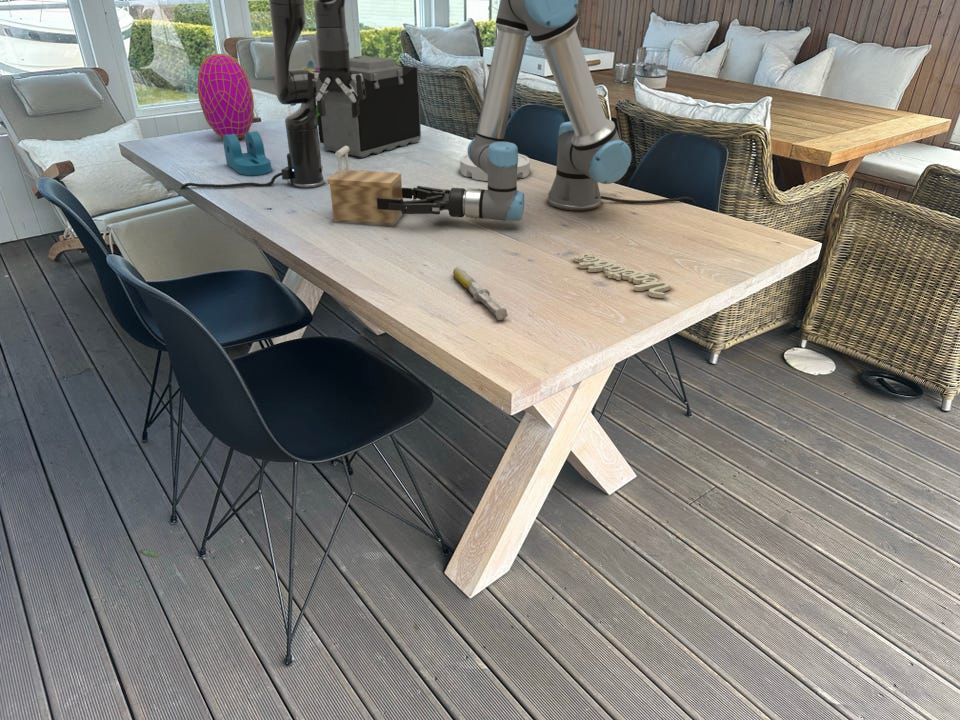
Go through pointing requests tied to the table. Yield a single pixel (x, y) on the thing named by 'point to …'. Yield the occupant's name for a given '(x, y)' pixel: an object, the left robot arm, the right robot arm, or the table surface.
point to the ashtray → (476, 173)
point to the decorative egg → (225, 95)
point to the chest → (364, 204)
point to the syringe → (479, 293)
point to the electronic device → (373, 109)
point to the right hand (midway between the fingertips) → (383, 197)
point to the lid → (361, 175)
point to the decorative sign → (625, 274)
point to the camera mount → (246, 154)
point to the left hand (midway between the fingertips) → (339, 116)
